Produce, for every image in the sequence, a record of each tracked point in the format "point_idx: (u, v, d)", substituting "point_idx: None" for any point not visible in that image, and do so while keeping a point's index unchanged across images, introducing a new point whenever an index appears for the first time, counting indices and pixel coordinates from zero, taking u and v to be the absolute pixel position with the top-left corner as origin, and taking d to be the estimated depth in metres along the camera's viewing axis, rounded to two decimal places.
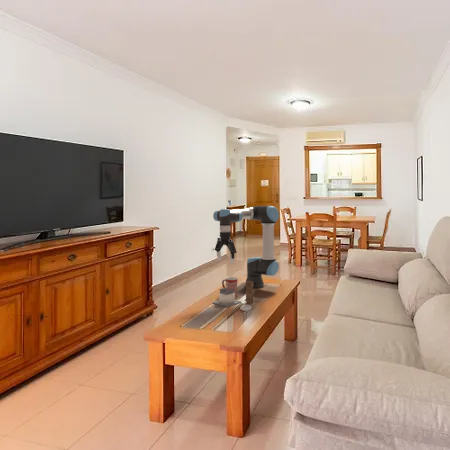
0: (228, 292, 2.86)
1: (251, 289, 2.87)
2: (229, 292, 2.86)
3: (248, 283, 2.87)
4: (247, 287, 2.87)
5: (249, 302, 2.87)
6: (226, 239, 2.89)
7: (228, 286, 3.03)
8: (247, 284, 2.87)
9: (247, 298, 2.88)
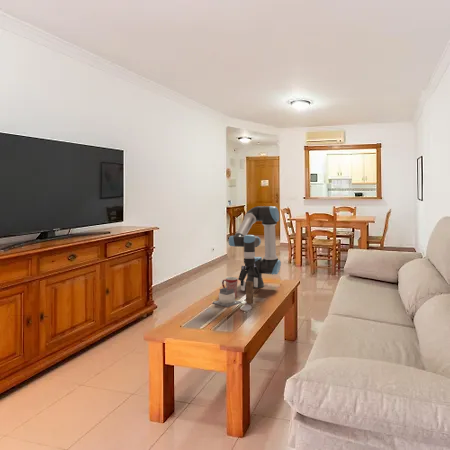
0: (228, 292, 2.86)
1: (251, 289, 2.87)
2: (229, 292, 2.86)
3: (248, 283, 2.87)
4: (247, 287, 2.87)
5: (249, 302, 2.87)
6: None
7: (228, 286, 3.03)
8: (247, 284, 2.87)
9: (247, 298, 2.88)
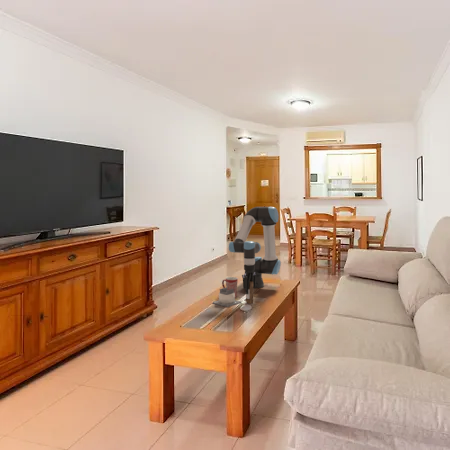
0: (228, 292, 2.86)
1: (251, 289, 2.87)
2: (229, 292, 2.86)
3: None
4: None
5: (249, 302, 2.87)
6: None
7: (228, 286, 3.03)
8: None
9: None
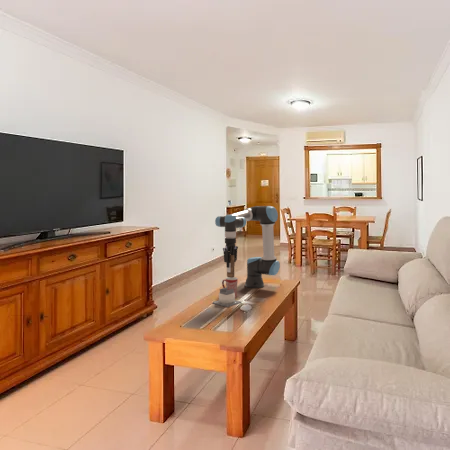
0: (228, 292, 2.86)
1: (232, 263, 2.86)
2: (229, 292, 2.86)
3: None
4: None
5: (230, 276, 2.86)
6: None
7: (228, 286, 3.03)
8: None
9: (228, 272, 2.87)
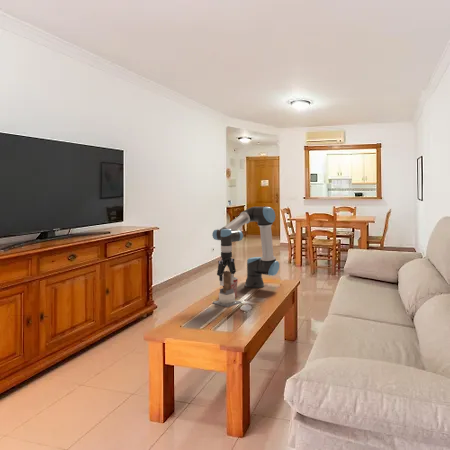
0: (228, 292, 2.86)
1: (228, 279, 2.87)
2: (229, 292, 2.86)
3: (225, 273, 2.87)
4: (224, 277, 2.88)
5: None
6: None
7: None
8: (224, 274, 2.88)
9: (224, 288, 2.89)
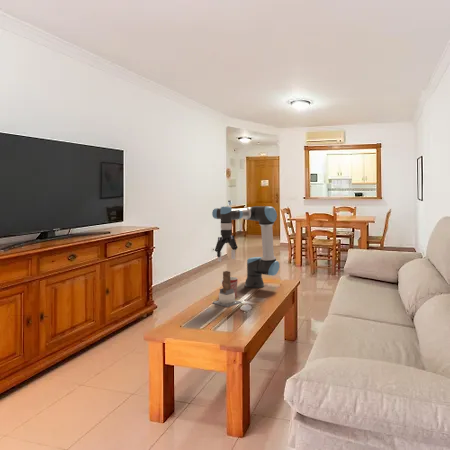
0: (228, 292, 2.86)
1: (228, 279, 2.87)
2: (229, 292, 2.86)
3: (225, 273, 2.87)
4: (224, 277, 2.88)
5: None
6: None
7: None
8: (224, 274, 2.88)
9: (224, 288, 2.89)
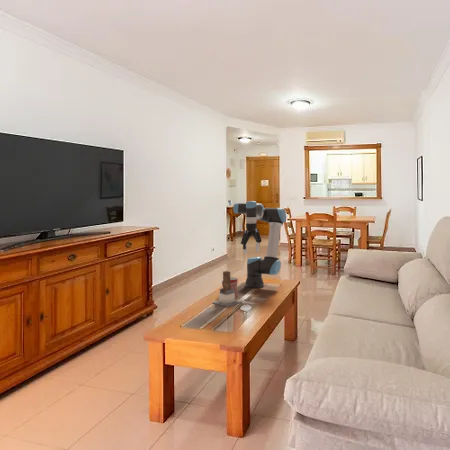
0: (228, 292, 2.86)
1: (228, 279, 2.87)
2: (229, 292, 2.86)
3: (225, 273, 2.87)
4: (224, 277, 2.88)
5: None
6: None
7: None
8: (224, 274, 2.88)
9: (224, 288, 2.89)
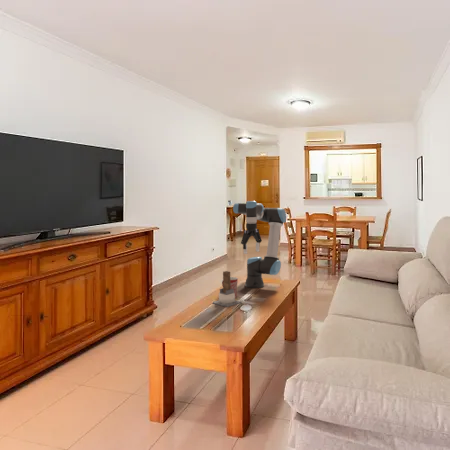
0: (228, 292, 2.86)
1: (228, 279, 2.87)
2: (229, 292, 2.86)
3: (225, 273, 2.87)
4: (224, 277, 2.88)
5: None
6: None
7: None
8: (224, 274, 2.88)
9: (224, 288, 2.89)
